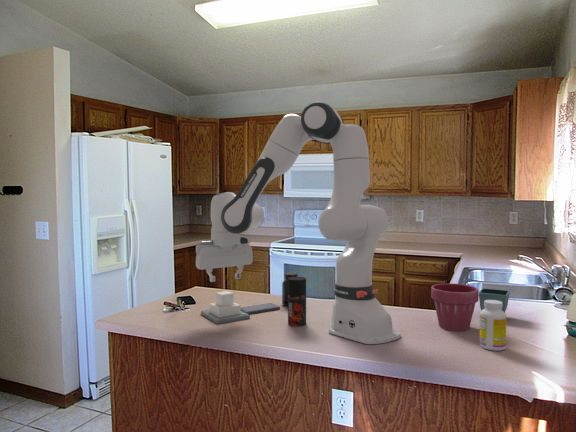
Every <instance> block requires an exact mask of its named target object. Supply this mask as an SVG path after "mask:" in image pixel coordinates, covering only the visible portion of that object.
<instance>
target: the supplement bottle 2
mask: <svg viewBox="0 0 576 432" xmlns="http://www.w3.org/2000/svg"><path fill="white" fill-rule="evenodd" d="M484 306H485V309H483V310H482V311H481V310H480V312H479V346H480V347H481V348H482V349H485V350H488V351H494V352H498V351H500V352H501V351H503V350H506V347H507V314H506V311H505V312H504V311H502V307H503V303H502V302H501V301H497V300H485V301H484Z"/></svg>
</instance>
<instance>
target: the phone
mask: <svg viewBox="0 0 576 432" xmlns="http://www.w3.org/2000/svg"><path fill="white" fill-rule="evenodd" d="M240 310H241V311H243V312H245V313H247V314H249V315H254V313H255V314H259V313H266V312H273V311H278V310H281V306H279V305H276V304H274V303H272V302H268V303H262V304H256V305H255V304H254V305H249V306H243V307H240Z"/></svg>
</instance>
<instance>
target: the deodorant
mask: <svg viewBox="0 0 576 432" xmlns="http://www.w3.org/2000/svg"><path fill="white" fill-rule="evenodd" d="M287 324H288V326H290V327H304V326H306V325H307V278H306V277H305V276H298V277H289V278H288V306H287Z"/></svg>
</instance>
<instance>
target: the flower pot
mask: <svg viewBox="0 0 576 432" xmlns="http://www.w3.org/2000/svg"><path fill="white" fill-rule="evenodd" d="M478 293H479V300H478V302H479V307H480V312H481V311H482V310H483V309H485V306H484V301H485V300H497V301H501V302H502V303H503V307H502V311H504V312H505V313H506V311H507V308H508V305H509V300H510V290H507V289H505V290H504V289H495V288H485V287H484V288H483V287H482V288H481V289H480V290H479V291H478Z"/></svg>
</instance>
